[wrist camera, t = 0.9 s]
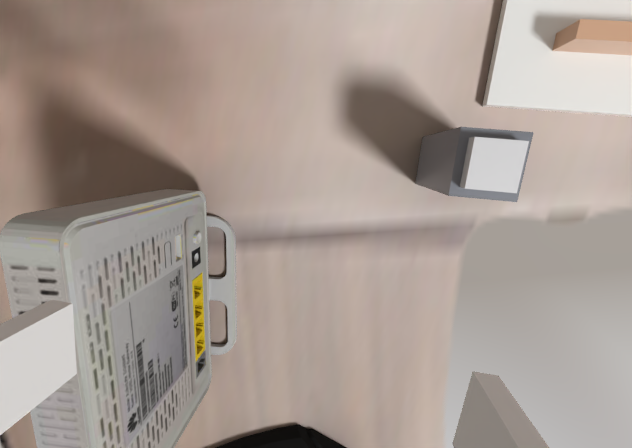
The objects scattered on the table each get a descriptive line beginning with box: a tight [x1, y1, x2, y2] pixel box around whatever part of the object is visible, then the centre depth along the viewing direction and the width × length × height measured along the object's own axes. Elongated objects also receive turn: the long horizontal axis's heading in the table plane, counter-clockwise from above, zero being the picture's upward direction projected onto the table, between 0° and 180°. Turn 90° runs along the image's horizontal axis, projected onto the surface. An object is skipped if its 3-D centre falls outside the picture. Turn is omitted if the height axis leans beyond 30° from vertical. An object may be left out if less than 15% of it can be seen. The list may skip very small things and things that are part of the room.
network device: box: [0, 189, 237, 448], centre depth 29 cm, size 26×9×20 cm, turn 177°
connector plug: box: [415, 127, 533, 202], centre depth 27 cm, size 5×5×12 cm
